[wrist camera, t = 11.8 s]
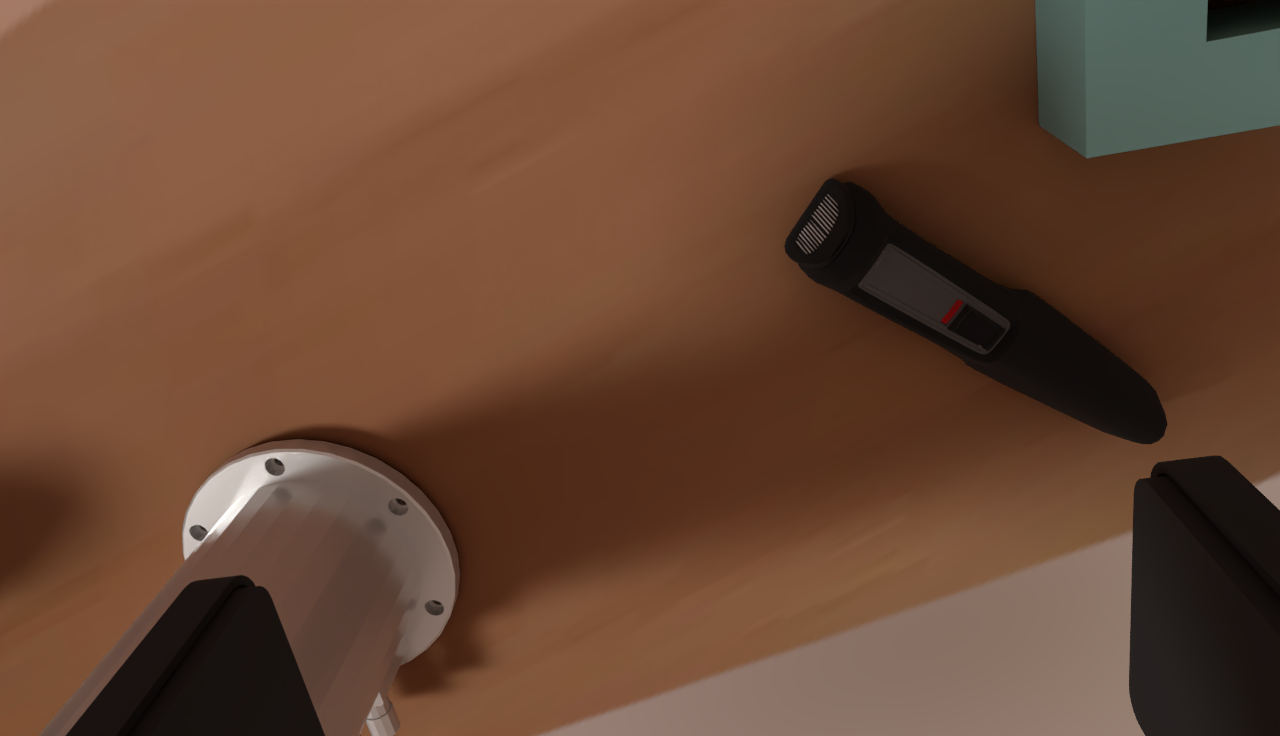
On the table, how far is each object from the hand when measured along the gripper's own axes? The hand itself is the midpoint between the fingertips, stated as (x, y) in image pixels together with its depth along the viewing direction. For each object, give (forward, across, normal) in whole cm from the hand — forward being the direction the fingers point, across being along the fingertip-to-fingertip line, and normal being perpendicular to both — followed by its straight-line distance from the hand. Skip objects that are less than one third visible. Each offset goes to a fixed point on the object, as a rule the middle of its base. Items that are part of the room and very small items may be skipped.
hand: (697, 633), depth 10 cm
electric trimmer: (+27, -10, +7) cm, 30 cm away
